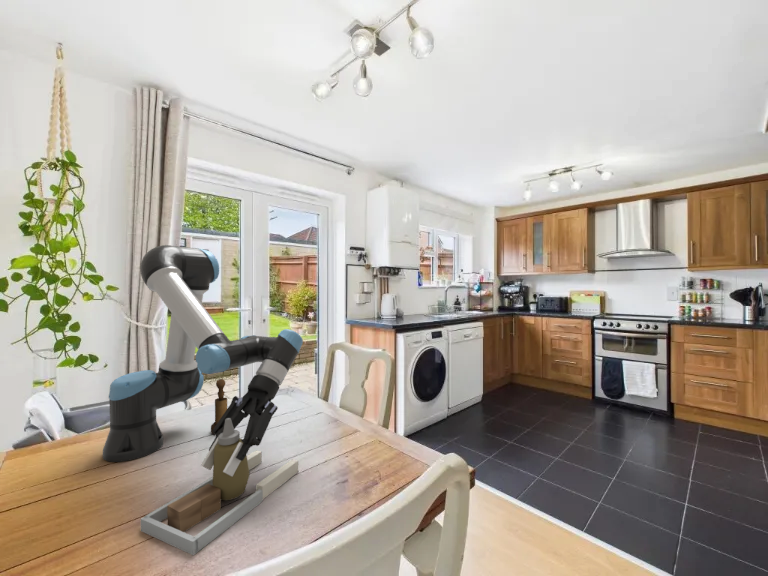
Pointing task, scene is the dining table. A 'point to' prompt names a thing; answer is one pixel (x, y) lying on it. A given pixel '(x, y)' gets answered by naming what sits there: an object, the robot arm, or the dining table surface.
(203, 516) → the brown cubic block
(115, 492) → the dining table surface
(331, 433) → the dining table surface
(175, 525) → the brown cube block
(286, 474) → the slot rails
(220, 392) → the wooden pepper mill
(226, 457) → the squeeze bottle
